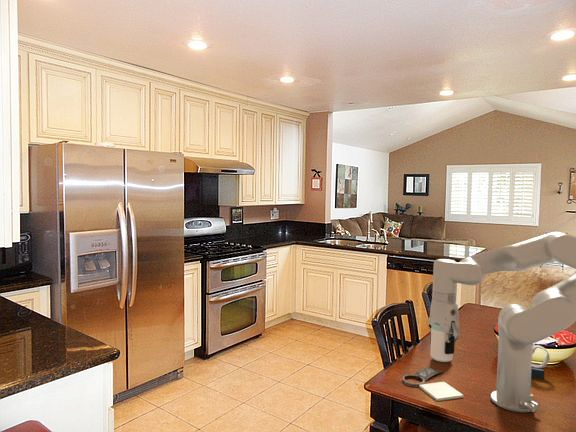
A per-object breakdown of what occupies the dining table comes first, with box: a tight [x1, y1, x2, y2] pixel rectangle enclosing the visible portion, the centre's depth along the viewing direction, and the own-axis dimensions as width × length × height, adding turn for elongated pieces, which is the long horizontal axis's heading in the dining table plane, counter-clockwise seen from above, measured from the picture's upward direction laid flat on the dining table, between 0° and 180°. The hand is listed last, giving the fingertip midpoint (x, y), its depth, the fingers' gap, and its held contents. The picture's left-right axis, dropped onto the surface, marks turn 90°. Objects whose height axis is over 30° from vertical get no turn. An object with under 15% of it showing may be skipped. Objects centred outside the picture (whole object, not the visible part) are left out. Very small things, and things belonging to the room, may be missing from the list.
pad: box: [418, 381, 464, 402], centre depth 142 cm, size 10×10×1 cm
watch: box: [531, 344, 551, 380], centre depth 156 cm, size 6×8×11 cm
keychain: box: [401, 366, 444, 388], centre depth 152 cm, size 8×19×2 cm, turn 130°
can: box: [429, 323, 454, 363], centre depth 141 cm, size 7×7×12 cm
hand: (441, 348), depth 141 cm, fingers closed on can, 7 cm apart
